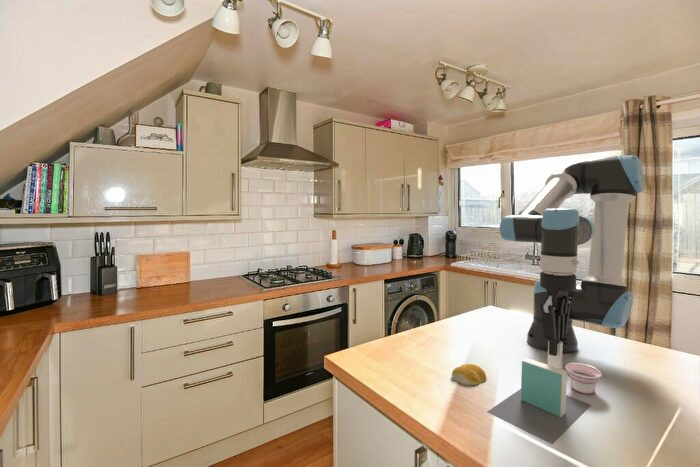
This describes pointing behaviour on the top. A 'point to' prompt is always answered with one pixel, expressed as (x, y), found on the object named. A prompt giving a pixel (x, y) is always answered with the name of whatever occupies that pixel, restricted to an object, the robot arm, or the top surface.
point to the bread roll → (469, 374)
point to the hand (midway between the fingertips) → (554, 366)
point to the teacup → (583, 377)
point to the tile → (544, 386)
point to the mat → (538, 416)
